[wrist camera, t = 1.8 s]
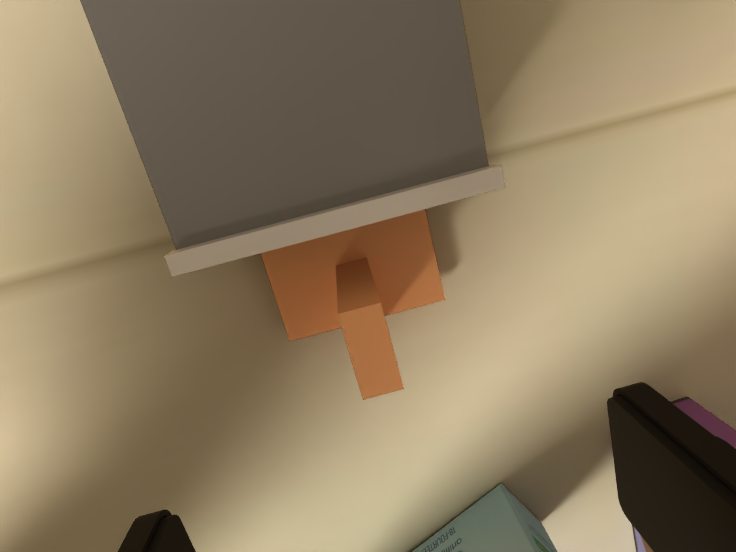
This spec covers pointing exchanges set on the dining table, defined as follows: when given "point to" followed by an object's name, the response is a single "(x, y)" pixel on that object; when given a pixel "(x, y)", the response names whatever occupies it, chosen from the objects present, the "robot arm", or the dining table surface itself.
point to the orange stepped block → (358, 289)
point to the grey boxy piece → (293, 115)
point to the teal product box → (492, 528)
